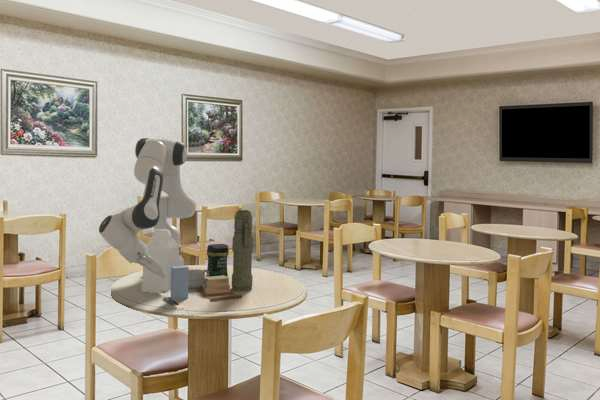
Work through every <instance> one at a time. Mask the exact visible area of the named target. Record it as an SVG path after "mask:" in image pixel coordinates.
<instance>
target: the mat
mask: <svg viewBox="0 0 600 400" xmlns="http://www.w3.org/2000/svg"><path fill="white" fill-rule="evenodd" d="M162 299H163V301H164V302H166V303H167V304H169V305H170V306H177V305H178V306H179V305H180V304H179V303H178V302H177V301H176V300H174V301H172V300H171V299H172V298H171V296H169V297H163V298H162Z"/></svg>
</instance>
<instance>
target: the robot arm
mask: <svg viewBox="0 0 600 400" xmlns="http://www.w3.org/2000/svg"><path fill="white" fill-rule="evenodd" d="M134 152H135V157H136V162H135V163H134V164H135V165H134V168H133V174H134V176H135V179H137V181H138V182H139V183H141V184H143V185H144V190H143V194H142V198H141V200H140V201H139V202H138V203H137V204H135V205H132V206H130V207H128V208H126V209H124V210H122V211H120V212H118V213H115V214H109V215H108V216H107V217H105V218H104V219H103V220H102V222H100V224H99V227H98V232H99V234H100V236H101V237H102V238H103V240H104V241H105V242H106V243H107V244H108V245H110V246H111V247H112V248H113V249H115V250H117V252H118V253H119V255H120V256H121V257H123V258H124V259H125V260H126V261H127V262H128V263H129V264H133V263H134V264H139V265H140V266H142V268H143V267H145V268H146V269H148V270H149V271H151V272H152V273H154V274H158V275H159V276H160V277H161V278H162V279H164V278H165V277H166V275H165V274H164V273H163V271H162V270H161V269H162V266H161V265H160V264H159V263H157V262H156V261H155V260H154V259H153V258H152V257H151V256H149V255H148V254H147V253H148V251H147V250H146V249H147V245H146V244H147V243H145V242H144V241H143V240H141V238H139V237H138V235H137V234H138V233H139V232H141V231H143V230H147V229H151V228H153V229H154V230H155V229H164V230H169V231H170V234H171V237H172V238H173V239H174V240H175V241H176V243H177V244H178V246H179V263H180V266H185V265H184V264H185V263H184V258H183V257H182V256H181V253H182V250H181V244H180V243H181V238H180V237H181V233H180V230H179V229H178V228H177V227H176V226H174V225H172V224H170V223H169V222H168V221H167V220H168V219H186V218H192V217H193V216H194V214H195V213H196V210H197V203H196V201H195V199H194V198H193V197H192V196H190V195H189V194H188V193H187V192H186V191H185V190H184V188H183V186H182V182H181V166H182V165H183V164H185V163H186V160H187V157H188V149H187V146H186V144H185V143H184V142H182V141H179V140H178V141H174V140H171V139H165V138H162V139H161V138H149V137H145V138H140V139H139V140H138V141H137V142H136V145H135V149H134ZM162 192H164V193H165V194H162Z"/></svg>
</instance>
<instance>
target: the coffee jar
mask: <svg viewBox="0 0 600 400" xmlns="http://www.w3.org/2000/svg"><path fill="white" fill-rule="evenodd" d="M206 249H207V250H206V254H207V255H206V256H207V269H206V270H208V271H209V277H213V276H226V277H228V278H229V276H228V256H229V252H230V251H229V245H228V244H227V243H226V244H225V243H212V244H208V245H207V248H206Z"/></svg>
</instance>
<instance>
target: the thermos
mask: <svg viewBox="0 0 600 400" xmlns="http://www.w3.org/2000/svg"><path fill="white" fill-rule="evenodd" d="M233 223H234V225H233V226H234V228H233V229H234V232H233V237H232V253H233V255H232V256H233V259H232V260H233V262H232V273H231V274H232V275H231V290H233V291H237V292H238V291H239V292H248V291H251V290H252V288H253V274H252V263H253V262H252V260H253V258H252V257H253V251H254V237H253V230H252V229H253V216H252V213H251V211H250V210H246V209H238V210H237V211H235V215H234V222H233Z"/></svg>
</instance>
